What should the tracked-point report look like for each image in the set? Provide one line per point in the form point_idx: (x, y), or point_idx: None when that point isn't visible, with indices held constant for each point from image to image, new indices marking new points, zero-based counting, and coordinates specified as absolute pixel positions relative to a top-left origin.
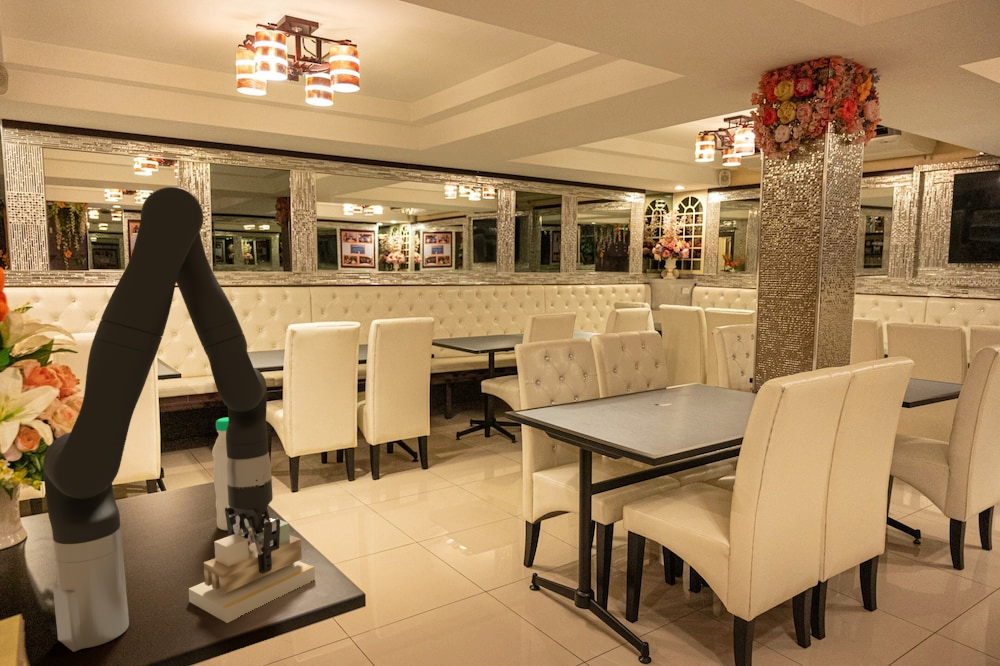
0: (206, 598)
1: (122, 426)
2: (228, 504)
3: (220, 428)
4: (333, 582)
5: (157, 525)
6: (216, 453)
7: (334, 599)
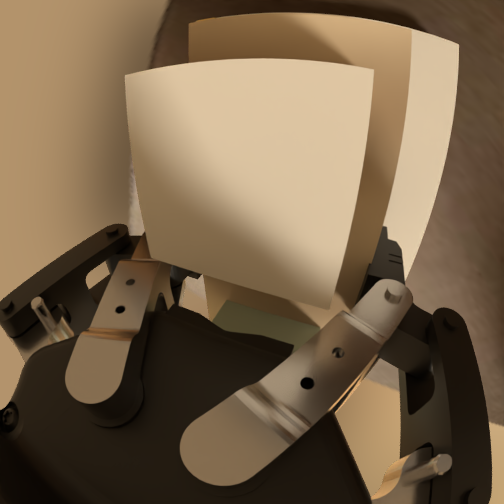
0: (323, 14)
1: None
2: None
3: None
4: (190, 278)
5: None
6: None
7: (138, 228)
